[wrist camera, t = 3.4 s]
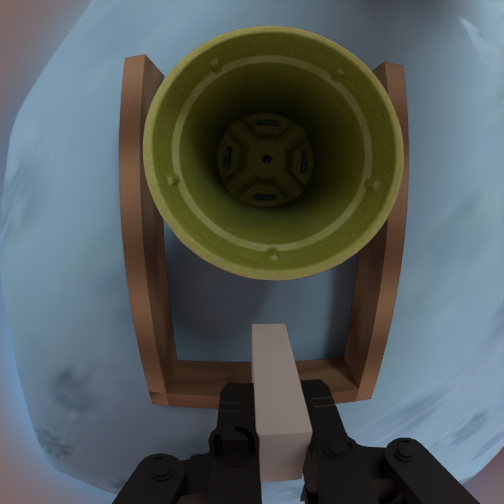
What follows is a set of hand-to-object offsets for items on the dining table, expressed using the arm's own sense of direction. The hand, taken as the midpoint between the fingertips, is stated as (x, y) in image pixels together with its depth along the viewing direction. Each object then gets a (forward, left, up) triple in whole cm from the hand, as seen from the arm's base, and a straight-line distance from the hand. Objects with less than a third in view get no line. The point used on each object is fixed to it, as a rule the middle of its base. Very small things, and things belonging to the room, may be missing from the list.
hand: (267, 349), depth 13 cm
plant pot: (-9, 0, -7) cm, 11 cm away
